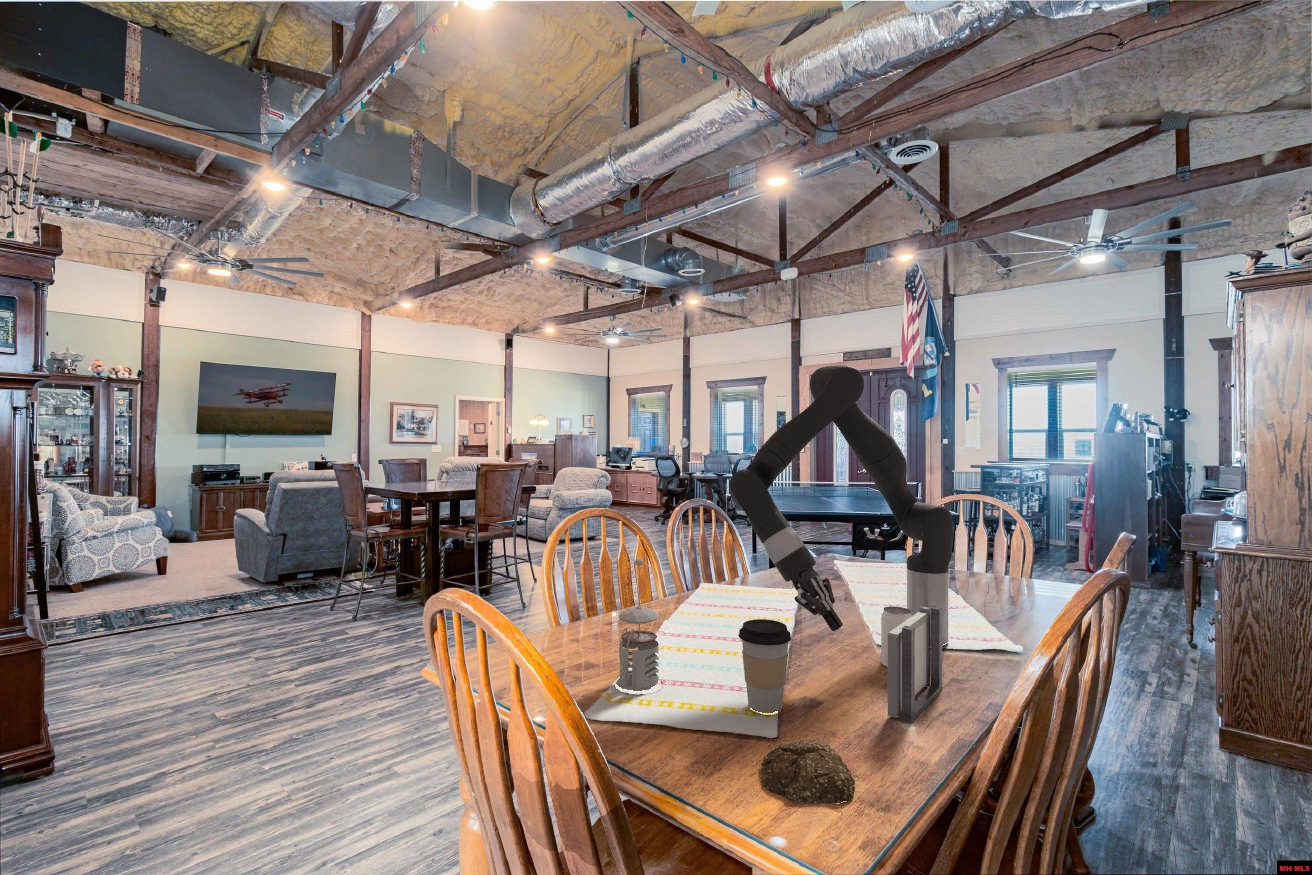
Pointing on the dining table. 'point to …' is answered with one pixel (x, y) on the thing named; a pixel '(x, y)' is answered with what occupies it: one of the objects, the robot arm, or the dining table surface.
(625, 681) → the french press
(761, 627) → the coffee cup
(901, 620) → the can
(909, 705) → the gate frame
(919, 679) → the gate
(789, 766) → the bread roll
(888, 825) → the dining table surface
